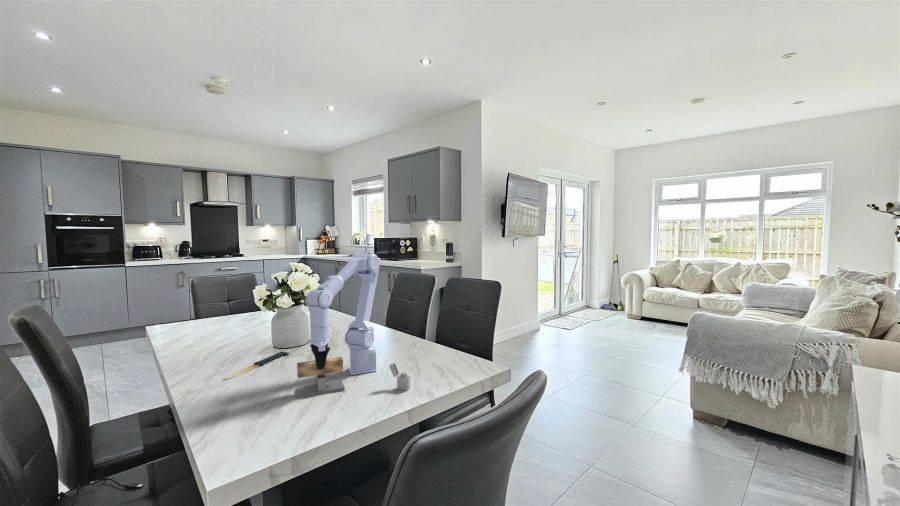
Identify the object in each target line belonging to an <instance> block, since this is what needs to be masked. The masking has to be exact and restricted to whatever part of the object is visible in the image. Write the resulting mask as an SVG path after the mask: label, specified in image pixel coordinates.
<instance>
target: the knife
mask: <svg viewBox="0 0 900 506" xmlns="http://www.w3.org/2000/svg"><path fill="white" fill-rule="evenodd" d="M289 353H290V352H287V351H280V352H277V353H276V354H273V355H271V356H268V357H266V358H263V359H261V360H259V361H256V362H253V364H252V365H249V366H247V367H245V368H243V369H241V370H237V371H236V372H233V373H230V374H229V375H227V376H225V377H224V378H223V380H224V381H227V380H230V378H231V379H233V378H236V377H239V376H240V374H241V375H243V374H245V372H246V373H247V371H248V372H250V371H252V369H253V370H254V368H255V369H257V368H259V367H260V366H262V367H264V366H265V365H267V364H269V363H272V362H274V361H276V360H279V359H280V358H282V356H283V357H287V356H289V355H290V354H289ZM275 359H276V360H275ZM273 360H274V361H273ZM268 362H269V363H268ZM266 363H267V364H266ZM264 364H265V365H264ZM263 365H264V366H263ZM238 375H239V376H238Z"/></svg>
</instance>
